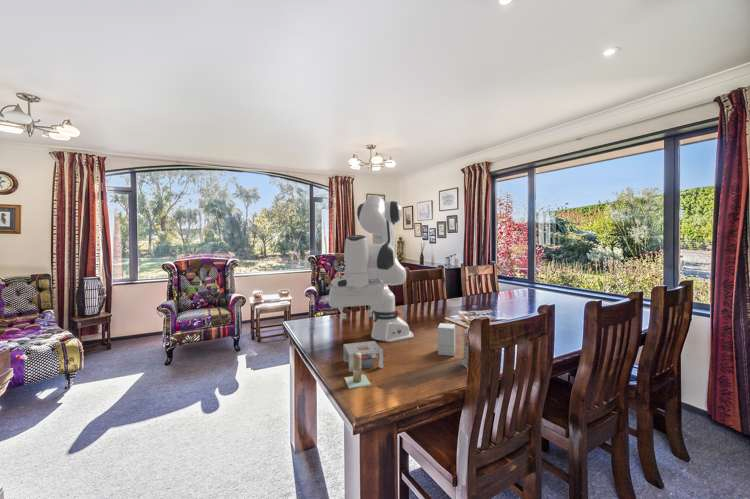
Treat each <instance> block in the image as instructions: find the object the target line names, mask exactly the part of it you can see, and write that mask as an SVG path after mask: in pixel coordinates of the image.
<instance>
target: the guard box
mask: <svg viewBox="0 0 750 499" xmlns="http://www.w3.org/2000/svg"><path fill="white" fill-rule="evenodd" d="M342 347H343V349H342V353H343V362H344V363H347V362H348V372H349V373H353V354H354V353H361V355H367V356H369V359H364V360H361V370H366V369H372V368H375V366H374V365H375V359H376V358H377V357H378V368H379V369H383V368H384V349H382V348H381V347H380V346H379V344H378V343H377V342H376V340H372V341H361V342H353V343H351V342H350V343H344V344H343V346H342ZM363 348H367V349H363ZM359 349H362V350H359ZM376 354H378V356H376Z"/></svg>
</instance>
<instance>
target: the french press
mask: <svg viewBox="0 0 750 499" xmlns="http://www.w3.org/2000/svg"><path fill="white" fill-rule="evenodd" d="M471 308H472V309H477V305H472V306H471ZM469 328H470V327H468V328H465V329H464V330H463V334H462V335H461V337H463V336H464V337H468V329H469ZM468 339H469V338H465V339H464V343H461V345H462V347H463V360H462V361H461V362H462V364H461V366H463V365H464V366H465V368H467V359H468ZM464 366H463V367H464ZM467 369H468V368H467Z"/></svg>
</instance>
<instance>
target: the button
mask: <svg viewBox="0 0 750 499" xmlns="http://www.w3.org/2000/svg"><path fill="white" fill-rule="evenodd" d="M364 359H369V356H367V355H361V360H364Z"/></svg>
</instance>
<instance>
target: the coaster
mask: <svg viewBox="0 0 750 499" xmlns="http://www.w3.org/2000/svg"><path fill="white" fill-rule="evenodd" d="M344 380H345V384H346V385H347V388H348V390H351V389H357V388H358V389H359V388H364V387H365V388H366V387H371V385H372V384H371V382H370V380H369V379H368V377H367V376H366V374H361V382H359V383H355V382H353V375H352V376H346V377H344Z"/></svg>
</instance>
